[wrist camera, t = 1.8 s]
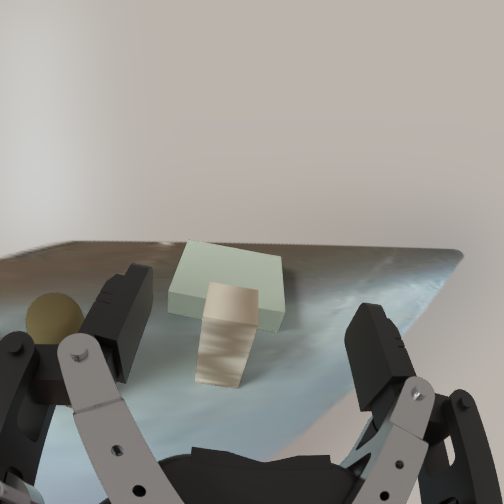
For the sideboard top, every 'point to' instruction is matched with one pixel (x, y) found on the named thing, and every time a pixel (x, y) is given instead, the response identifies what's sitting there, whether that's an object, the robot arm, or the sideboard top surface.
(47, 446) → the sideboard top surface
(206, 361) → the maple block
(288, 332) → the sideboard top surface
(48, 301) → the brown rounded piece
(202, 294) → the sage block
